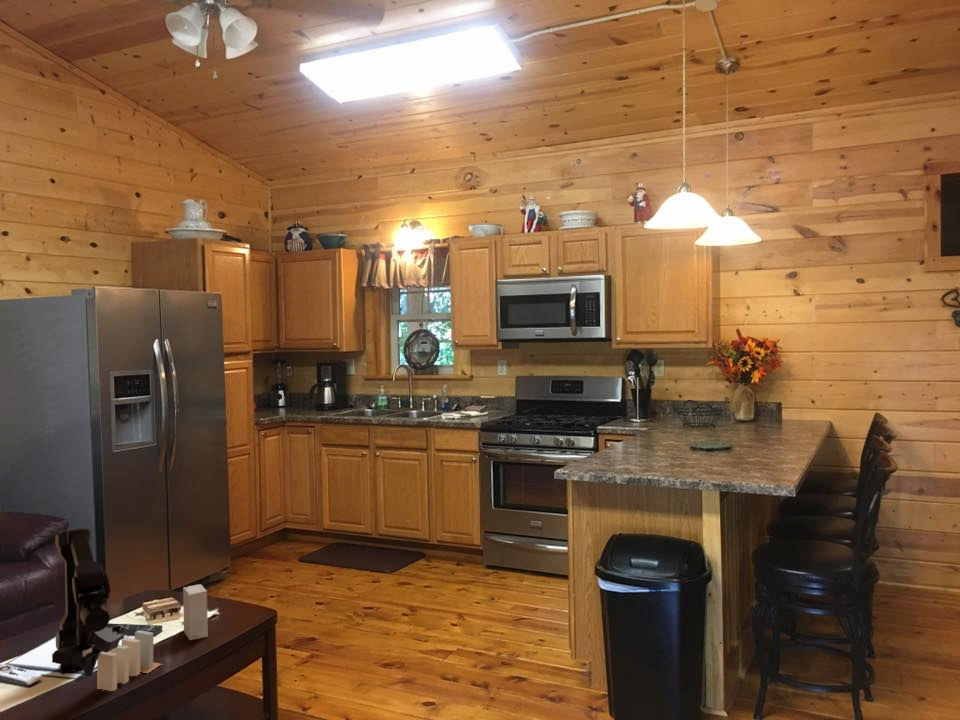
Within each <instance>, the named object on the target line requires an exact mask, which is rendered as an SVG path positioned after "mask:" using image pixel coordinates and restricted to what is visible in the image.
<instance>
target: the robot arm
mask: <svg viewBox="0 0 960 720" xmlns="http://www.w3.org/2000/svg"><path fill="white" fill-rule="evenodd" d="M91 531H92V529H89V528H85V527H81V528H73V529H64V530H60V531H59V533H57V534H56V535H55V540H54V541H55V542H54V543H55V548H57V553H58V554H59V555H60V557H61V558H62V559H63V561H64V585H65V586H64V588H65V589H64V590H65V591H64V592H65V593H64V594H65V598H64V599H65V613H64V615H63V617H62V618H61V620H60V621H59V630H57V632H56V636H55V648H56V650H55V651H54V652H53V653H52V654H51V655H52V656H51V660H52V661H51V663H52V664H53V663H54V664H58V665H60V669H59V671H60V672H59V673H60V674H64V673H66V674H67V673H71V672H70V671H73V672H77V671H76V670H79V671H83V673H84V676H86V677H91V676H92V675H93V672H94V670H95V666H96V664H97V659H98V657H99V654H100V653H101V652H102V651H103V652H110V651H111V650H112V649H114V648H116V647H118V645H120V644H119V643H120V641H122V639H124V638H125V626H124V625H122V624H118V625H115V624H114V625H113V624H109V623H110V620H111V619H110V618H111V617H110V614H109V612H108V611H107V609H106V607H105V605H104V603H103V602H104V601H103V600H107V599H110V594H111V585H110V581H109V576H108V575H107V573H106V571H104V569H103V567H102V564H100V563H98V562H97V561H95V559H94V555H93V551H92V548H91V545H90V544H91V543H92V532H91ZM81 669H82V670H81ZM74 670H75V671H74Z"/></svg>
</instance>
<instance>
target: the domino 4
mask: <svg viewBox="0 0 960 720" xmlns="http://www.w3.org/2000/svg"><path fill="white" fill-rule="evenodd" d="M134 639H137V640H141V651H140V667H141V668H146V669H150V668H152V667H153V662H154V632H152V631H151V632H150V631H146V630H137V631H135V632H134Z"/></svg>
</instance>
